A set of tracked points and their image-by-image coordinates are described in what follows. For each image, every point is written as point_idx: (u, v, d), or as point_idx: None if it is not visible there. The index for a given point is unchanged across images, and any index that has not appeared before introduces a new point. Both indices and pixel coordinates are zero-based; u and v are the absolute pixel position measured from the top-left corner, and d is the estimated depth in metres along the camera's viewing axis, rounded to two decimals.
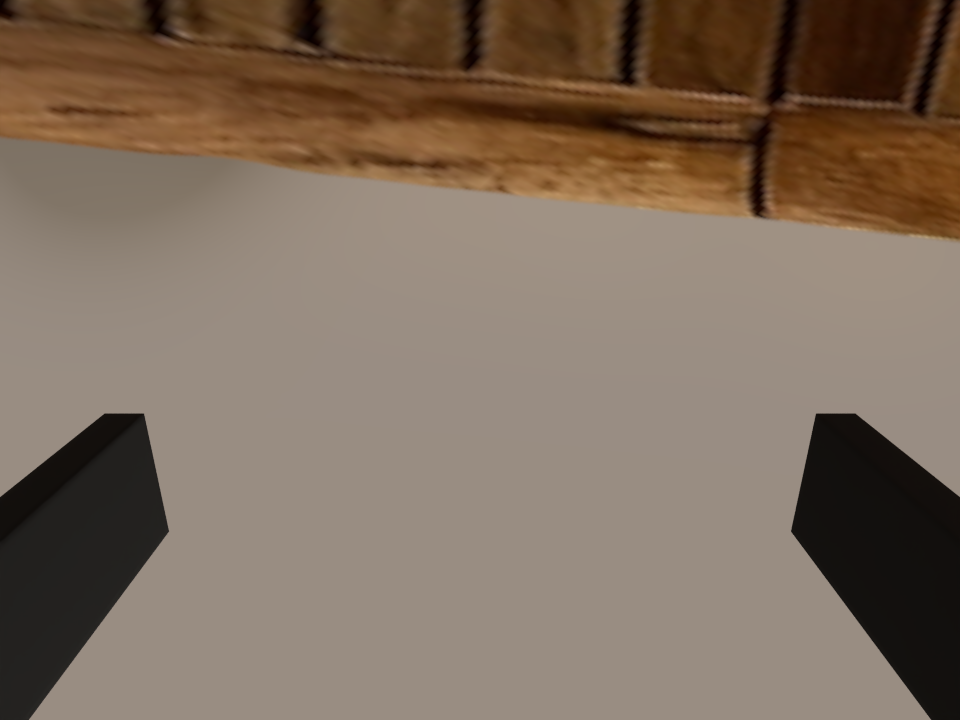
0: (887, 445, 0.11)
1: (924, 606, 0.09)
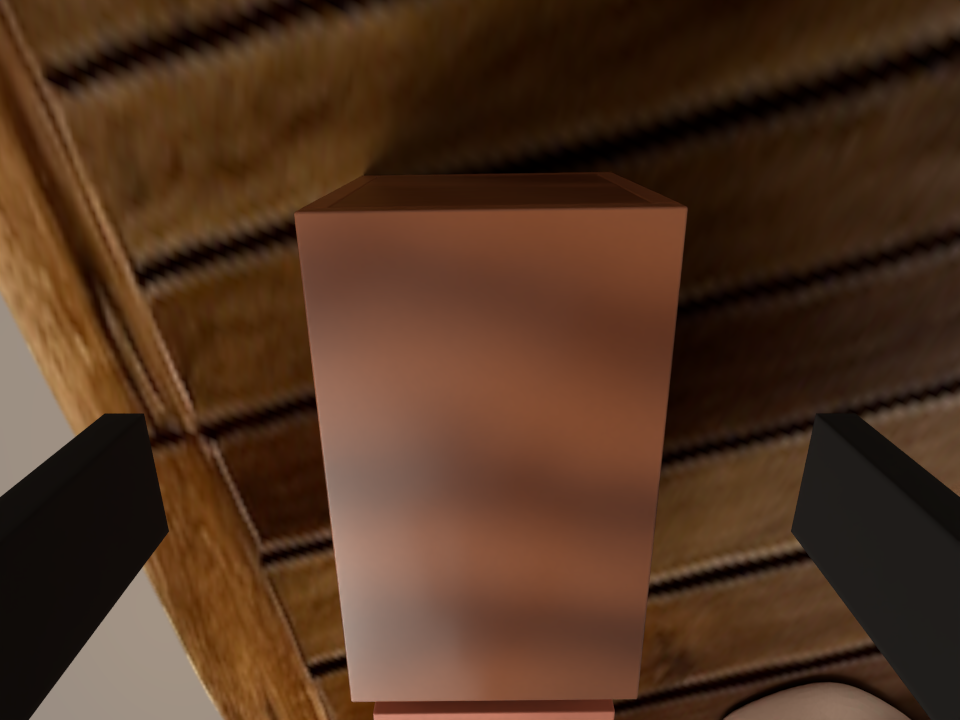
0: (887, 445, 0.11)
1: (925, 606, 0.09)
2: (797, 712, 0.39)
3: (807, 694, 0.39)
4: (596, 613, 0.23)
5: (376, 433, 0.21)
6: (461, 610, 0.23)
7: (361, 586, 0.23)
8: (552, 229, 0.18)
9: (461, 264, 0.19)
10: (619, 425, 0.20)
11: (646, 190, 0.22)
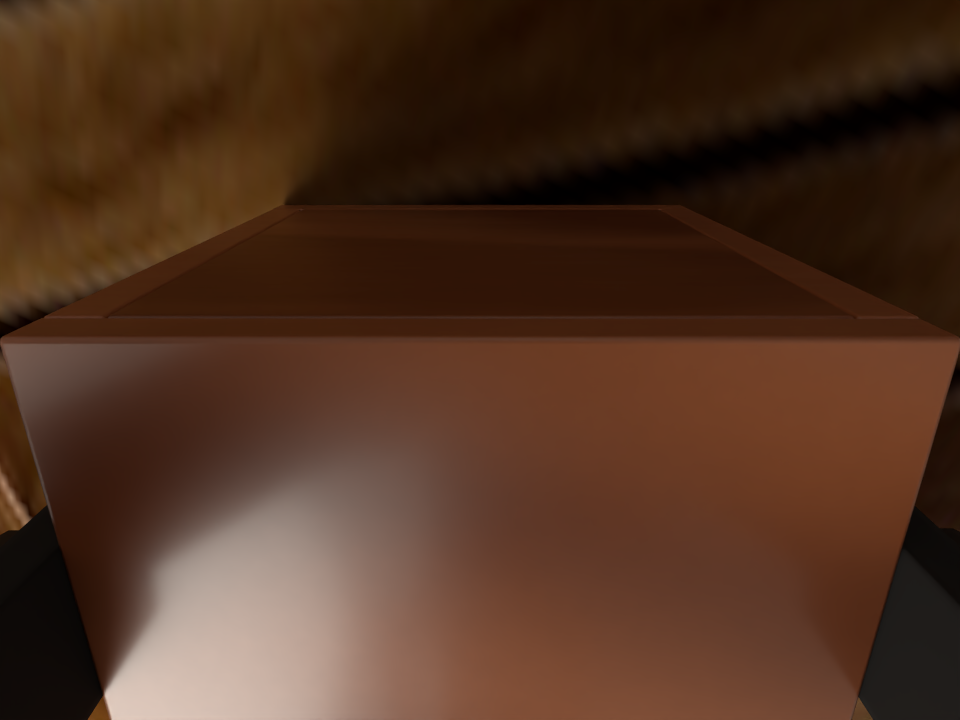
0: None
1: None
2: None
3: None
4: None
5: None
6: None
7: None
8: (628, 385, 0.08)
9: (409, 457, 0.08)
10: None
11: (790, 261, 0.11)
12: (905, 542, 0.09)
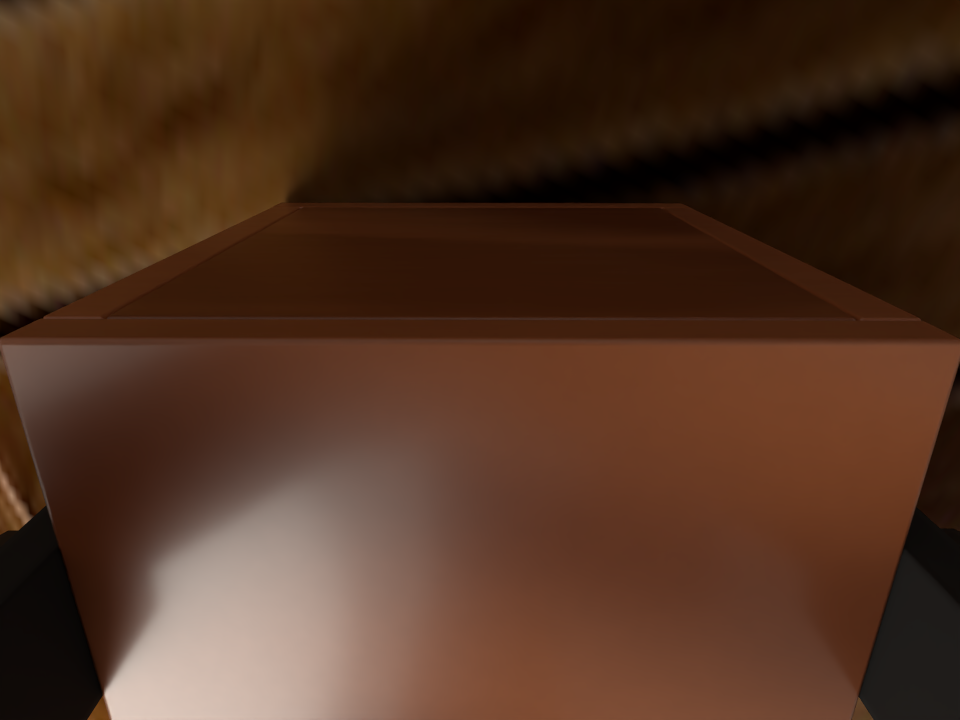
0: None
1: None
2: None
3: None
4: None
5: None
6: None
7: None
8: (629, 387, 0.07)
9: (410, 459, 0.08)
10: None
11: (792, 261, 0.11)
12: (906, 542, 0.09)
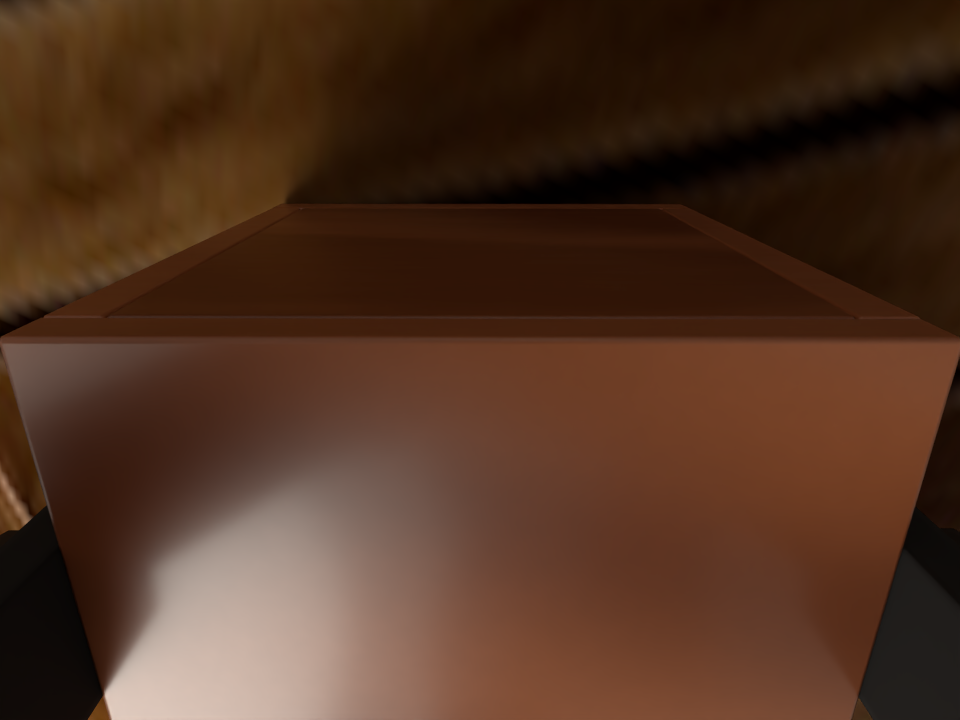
0: None
1: None
2: None
3: None
4: None
5: None
6: None
7: None
8: (629, 385, 0.08)
9: (410, 458, 0.08)
10: None
11: (791, 261, 0.11)
12: (905, 542, 0.09)
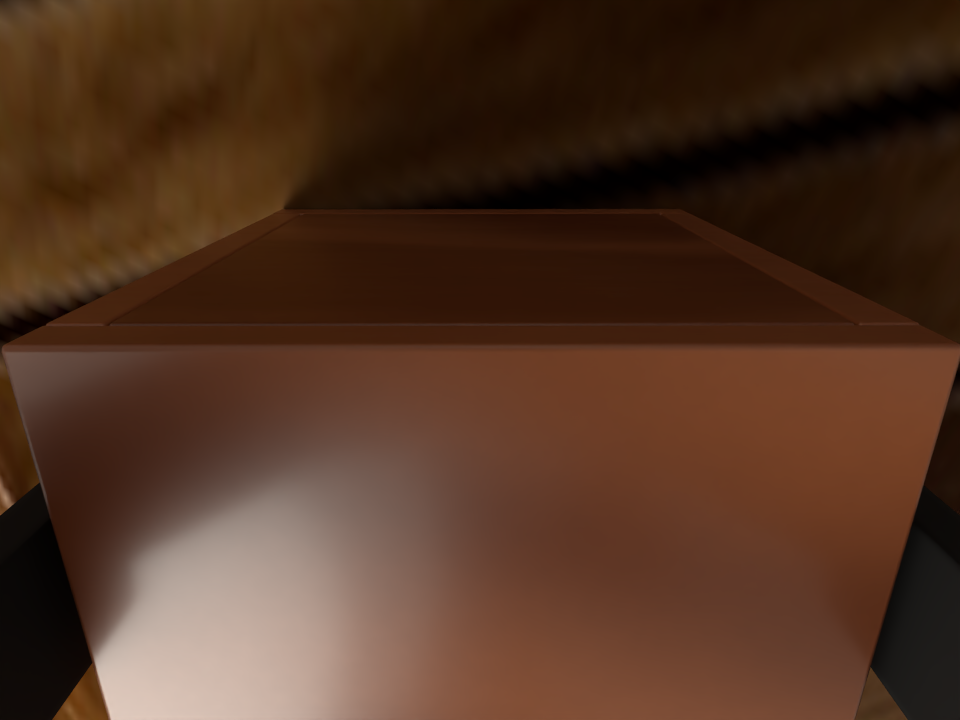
0: None
1: None
2: None
3: None
4: None
5: None
6: None
7: None
8: (629, 392, 0.08)
9: (411, 465, 0.08)
10: None
11: (790, 266, 0.11)
12: None
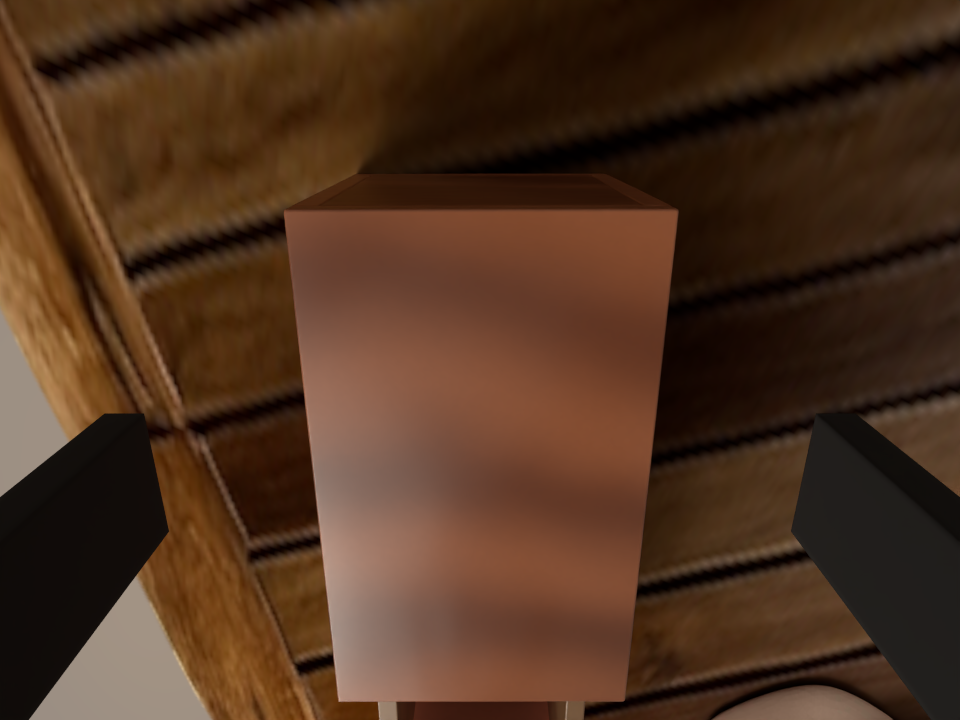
0: (887, 445, 0.11)
1: (924, 606, 0.09)
2: (784, 714, 0.39)
3: (794, 696, 0.39)
4: (584, 615, 0.23)
5: (365, 432, 0.21)
6: (449, 611, 0.23)
7: (349, 585, 0.23)
8: (542, 230, 0.18)
9: (451, 264, 0.18)
10: (608, 427, 0.20)
11: (638, 192, 0.22)
12: None
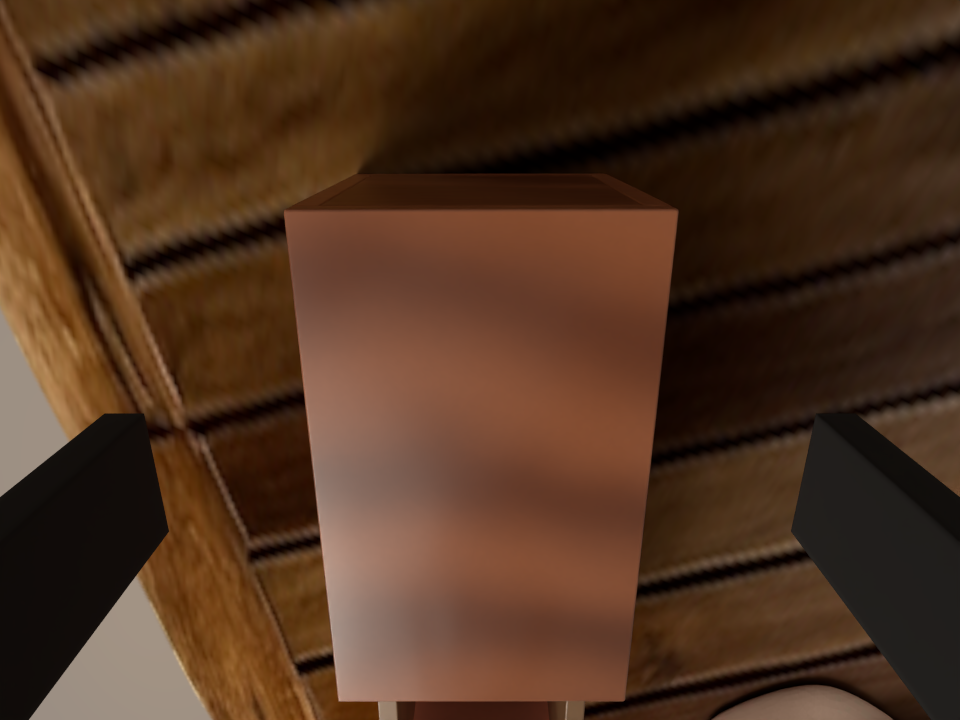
0: (887, 445, 0.11)
1: (925, 607, 0.09)
2: (784, 714, 0.39)
3: (794, 696, 0.39)
4: (584, 614, 0.23)
5: (365, 432, 0.21)
6: (449, 611, 0.23)
7: (349, 585, 0.23)
8: (542, 230, 0.18)
9: (451, 264, 0.18)
10: (608, 427, 0.20)
11: (638, 192, 0.22)
12: None
